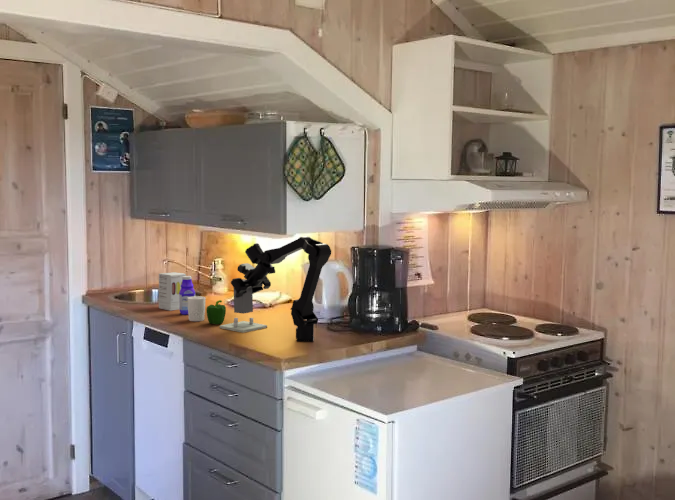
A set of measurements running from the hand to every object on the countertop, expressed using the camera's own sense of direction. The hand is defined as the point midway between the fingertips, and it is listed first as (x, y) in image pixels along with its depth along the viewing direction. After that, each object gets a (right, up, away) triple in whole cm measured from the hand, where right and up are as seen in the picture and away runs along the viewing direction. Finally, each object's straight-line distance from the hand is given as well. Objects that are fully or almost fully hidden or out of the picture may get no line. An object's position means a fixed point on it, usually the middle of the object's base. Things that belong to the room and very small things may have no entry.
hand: (241, 296), depth 311 cm
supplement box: (-38, -9, +43) cm, 58 cm away
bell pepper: (-12, -13, +9) cm, 19 cm away
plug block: (+1, -7, 0) cm, 7 cm away
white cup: (-22, -12, +16) cm, 29 cm away
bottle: (-29, -10, +30) cm, 42 cm away
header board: (+1, -13, +1) cm, 13 cm away
